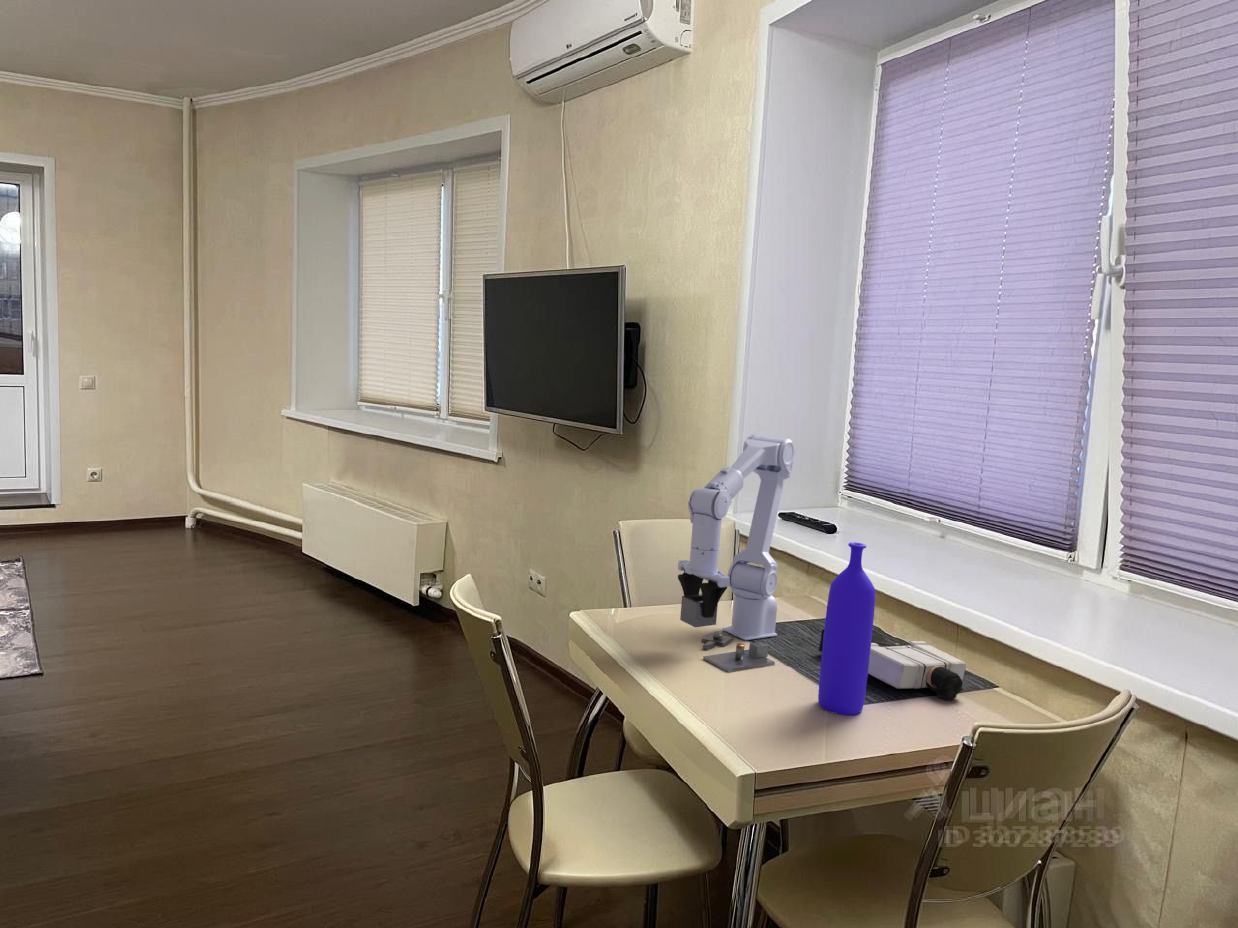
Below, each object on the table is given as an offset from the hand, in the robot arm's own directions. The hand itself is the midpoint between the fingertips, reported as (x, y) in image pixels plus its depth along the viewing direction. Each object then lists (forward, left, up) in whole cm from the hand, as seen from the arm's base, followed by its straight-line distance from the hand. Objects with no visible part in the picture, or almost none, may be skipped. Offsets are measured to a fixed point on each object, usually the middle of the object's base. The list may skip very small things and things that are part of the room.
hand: (699, 612), depth 191 cm
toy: (-31, +25, -9) cm, 41 cm away
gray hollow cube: (0, 0, -2) cm, 2 cm away
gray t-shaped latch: (-8, -4, -9) cm, 13 cm away
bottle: (-8, +33, -9) cm, 35 cm away
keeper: (-6, +7, -9) cm, 13 cm away
